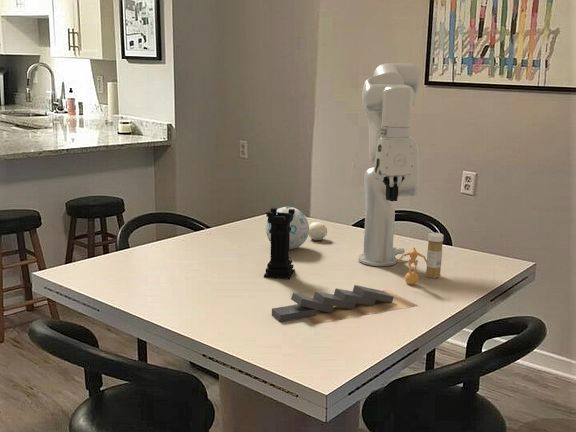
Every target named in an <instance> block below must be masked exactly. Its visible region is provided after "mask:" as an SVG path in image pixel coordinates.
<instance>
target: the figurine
mask: <svg viewBox="0 0 576 432" xmlns="http://www.w3.org/2000/svg"><path fill="white" fill-rule="evenodd" d="M406 256H409V257H410V258H409V259H408V261H407V262H408V263H407V265H408V272H407V273H406V274H405V275H404V281H405V283H406V285H410V286H414V285H417V284H418V282H419V275H418V274H417V273H416V271H417V266H418V262H419V260H418V259H417V257H418V256H419V257H421V258H423V260H424V261H425V264H427V258H426V257H425V255H423V254H421V253H420V252H418V251H417V250H416V247H415V246H413V247H412V248H411V251H408V252H405V253H404V254H401V256H400V257H399V259H398V260H397V262H398V263H400V261H401V260H402V259H403V257H406ZM412 264H413V265H414V267H413V271H411V269H412V267H411V265H412Z"/></svg>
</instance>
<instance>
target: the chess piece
mask: <svg viewBox="0 0 576 432" xmlns="http://www.w3.org/2000/svg"><path fill="white" fill-rule="evenodd" d="M277 209H278V208H277V207H270V211H266V212H265V215H266V217H267V220H268V223H271V229H270V230H269V233H271V242H270V259H269V262H267V266H266V268H265V272H264V274H263V278H265V279H268V278H269V279H277V280H278V279H279V280H288V281H289V280H291V278H292V277H293V276H294V273H295V272H296V270H295V269H294V264H293V260H292V259H290V250H289V242H290V231H291V227H290V223H291V221H292V220H293V214H294V213H295V209H289V213H281V212H278V213H277ZM276 213H277V215H276Z"/></svg>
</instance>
